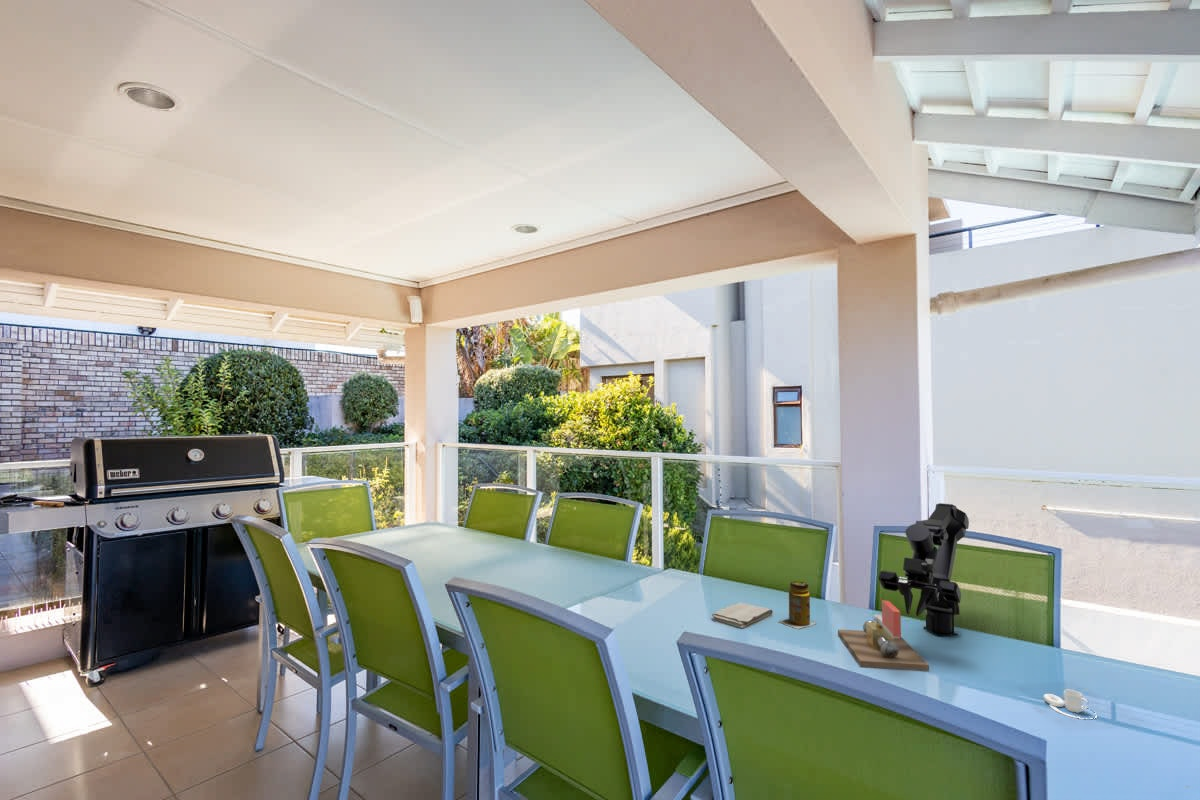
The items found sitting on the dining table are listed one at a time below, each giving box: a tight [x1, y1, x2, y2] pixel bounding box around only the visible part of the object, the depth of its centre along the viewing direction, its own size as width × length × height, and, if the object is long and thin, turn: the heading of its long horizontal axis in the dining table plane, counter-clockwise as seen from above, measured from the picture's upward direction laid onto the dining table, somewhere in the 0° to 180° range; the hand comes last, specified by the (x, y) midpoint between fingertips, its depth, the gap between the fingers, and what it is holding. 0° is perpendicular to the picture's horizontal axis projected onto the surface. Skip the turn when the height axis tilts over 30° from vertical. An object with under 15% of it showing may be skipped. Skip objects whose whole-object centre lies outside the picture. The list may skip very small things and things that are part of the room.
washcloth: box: [711, 602, 774, 629], centre depth 182 cm, size 12×18×3 cm, turn 136°
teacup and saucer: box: [1043, 688, 1098, 720], centre depth 124 cm, size 9×8×4 cm
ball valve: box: [862, 620, 899, 658], centre depth 155 cm, size 16×5×6 cm, turn 171°
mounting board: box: [837, 629, 930, 672], centre depth 155 cm, size 22×16×2 cm
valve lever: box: [873, 599, 902, 638], centre depth 149 cm, size 15×3×7 cm, turn 171°
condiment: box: [778, 580, 817, 630], centre depth 177 cm, size 7×8×12 cm
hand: (912, 614), depth 150 cm, fingers closed
